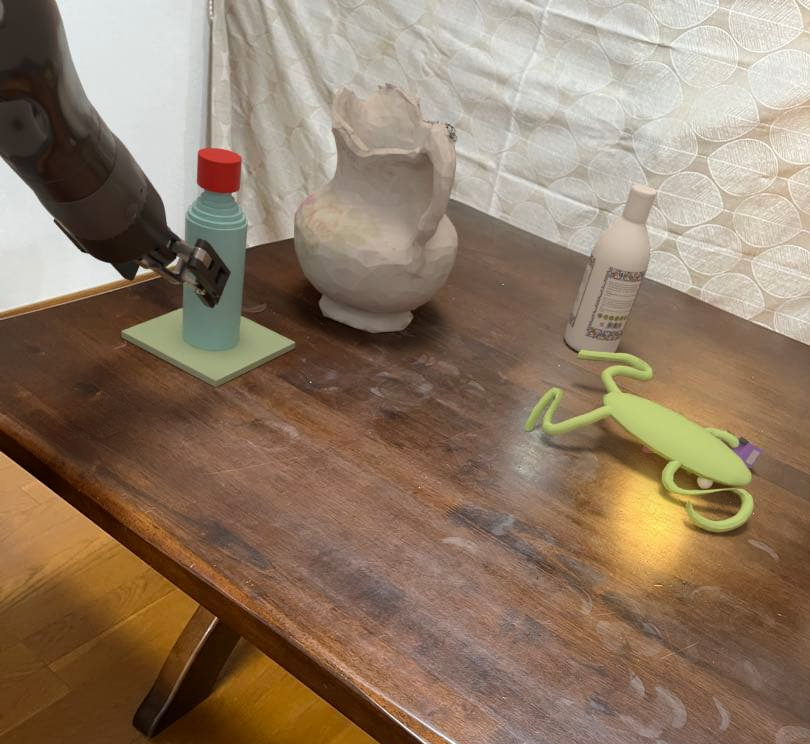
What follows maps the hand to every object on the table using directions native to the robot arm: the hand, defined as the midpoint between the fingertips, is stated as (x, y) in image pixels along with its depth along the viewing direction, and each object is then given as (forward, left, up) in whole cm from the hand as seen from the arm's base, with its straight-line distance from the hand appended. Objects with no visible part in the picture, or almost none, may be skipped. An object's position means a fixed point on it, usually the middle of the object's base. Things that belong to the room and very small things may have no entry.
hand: (173, 284), depth 81 cm
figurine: (+42, +27, -10) cm, 51 cm away
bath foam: (+28, +46, -10) cm, 55 cm away
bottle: (-2, +7, -9) cm, 12 cm away
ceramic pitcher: (+5, +29, -10) cm, 31 cm away
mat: (-2, +8, -9) cm, 12 cm away
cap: (-2, +7, +7) cm, 11 cm away
